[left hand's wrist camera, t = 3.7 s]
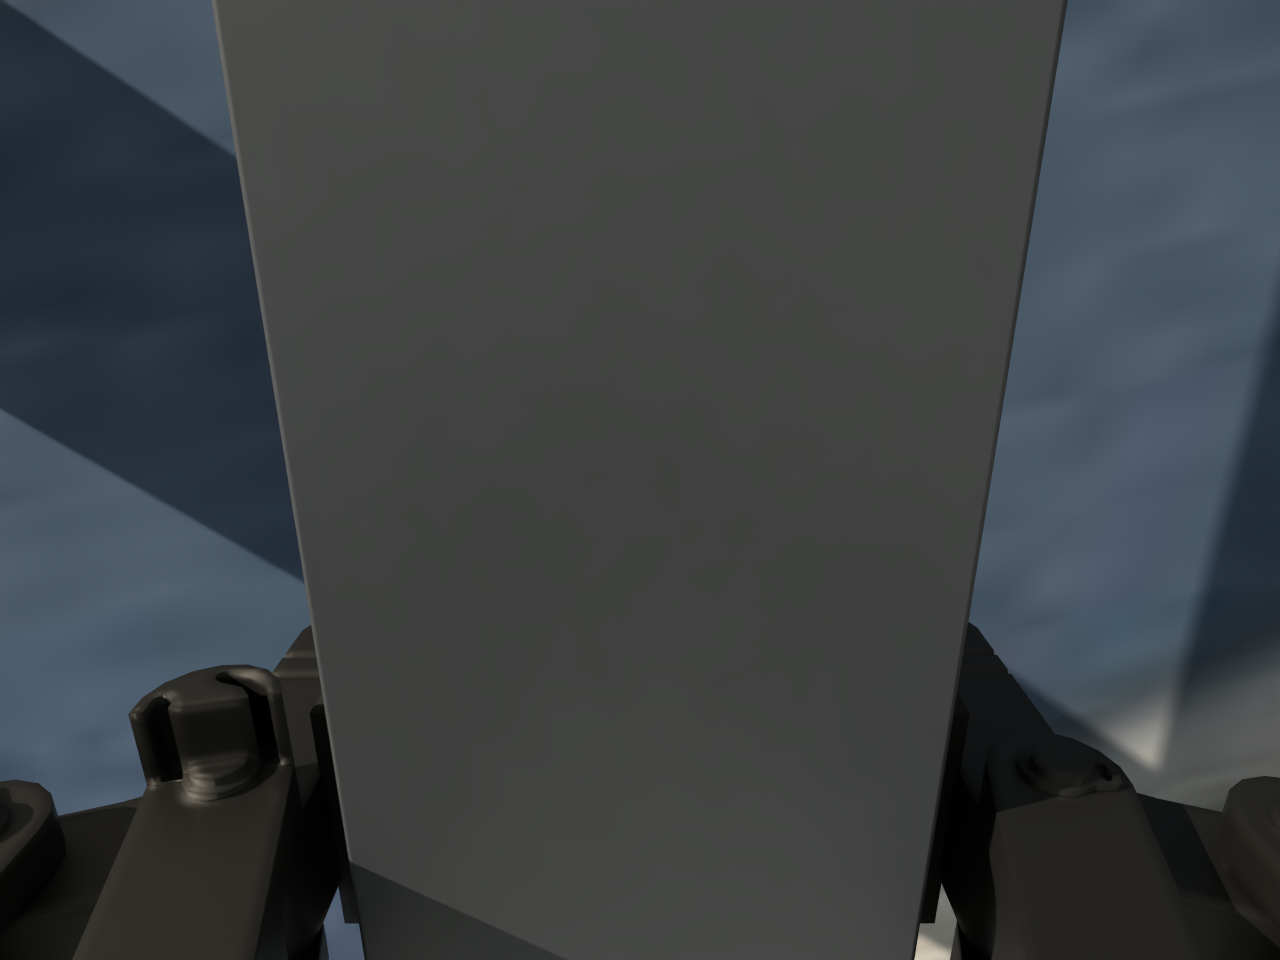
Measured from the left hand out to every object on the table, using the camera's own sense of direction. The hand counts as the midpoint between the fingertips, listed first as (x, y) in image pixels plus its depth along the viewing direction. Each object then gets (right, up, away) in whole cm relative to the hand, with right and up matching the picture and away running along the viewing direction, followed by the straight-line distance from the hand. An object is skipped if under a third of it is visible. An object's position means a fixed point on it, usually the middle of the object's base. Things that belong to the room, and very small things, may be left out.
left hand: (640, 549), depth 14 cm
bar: (0, +8, -2) cm, 8 cm away
